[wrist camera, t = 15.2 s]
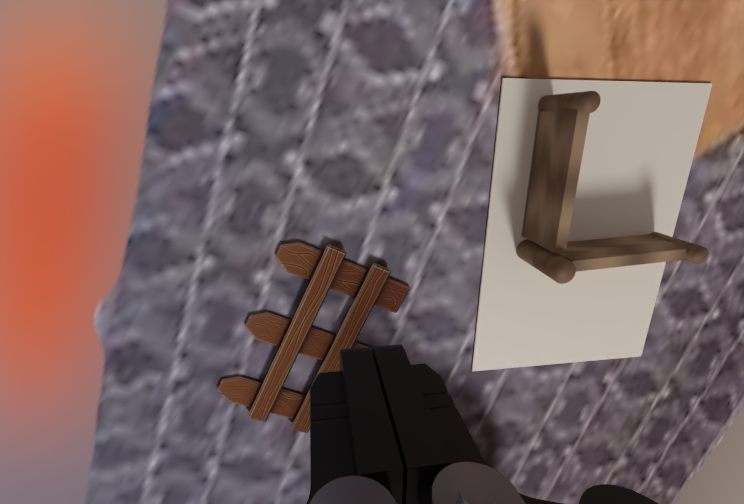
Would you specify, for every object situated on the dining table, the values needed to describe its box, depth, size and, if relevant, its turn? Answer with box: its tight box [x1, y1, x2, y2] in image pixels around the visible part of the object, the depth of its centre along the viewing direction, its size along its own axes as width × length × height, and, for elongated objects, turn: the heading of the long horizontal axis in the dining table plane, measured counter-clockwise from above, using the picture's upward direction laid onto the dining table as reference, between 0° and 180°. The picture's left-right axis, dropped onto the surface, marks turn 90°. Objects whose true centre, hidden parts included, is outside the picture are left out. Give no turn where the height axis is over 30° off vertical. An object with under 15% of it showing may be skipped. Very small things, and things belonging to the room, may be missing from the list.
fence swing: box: [556, 232, 708, 272], centre depth 43 cm, size 15×2×6 cm, turn 93°
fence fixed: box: [516, 91, 601, 284], centre depth 40 cm, size 18×2×8 cm, turn 0°
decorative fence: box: [218, 242, 410, 433], centre depth 45 cm, size 23×2×15 cm
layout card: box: [472, 78, 713, 371], centre depth 46 cm, size 34×24×1 cm
